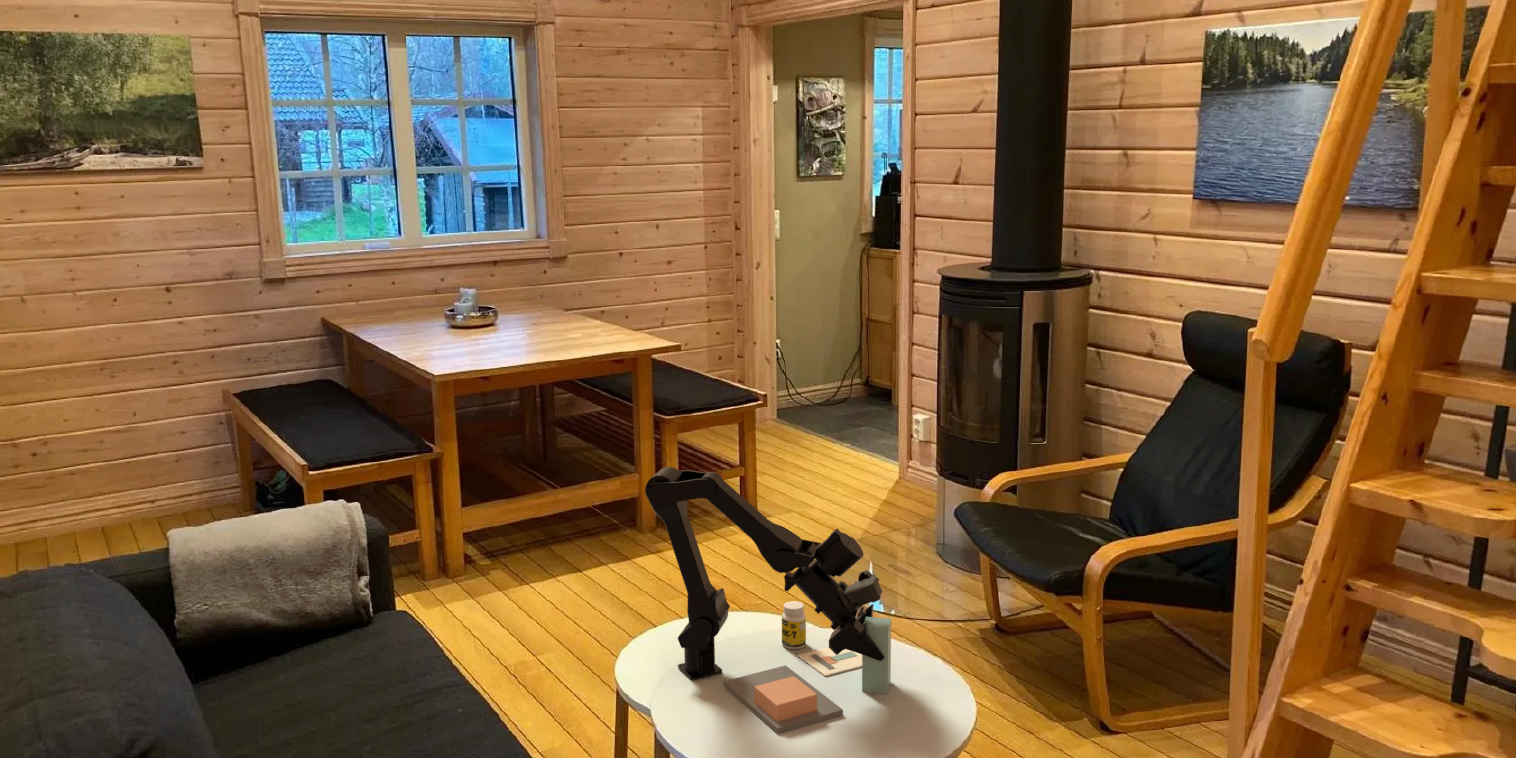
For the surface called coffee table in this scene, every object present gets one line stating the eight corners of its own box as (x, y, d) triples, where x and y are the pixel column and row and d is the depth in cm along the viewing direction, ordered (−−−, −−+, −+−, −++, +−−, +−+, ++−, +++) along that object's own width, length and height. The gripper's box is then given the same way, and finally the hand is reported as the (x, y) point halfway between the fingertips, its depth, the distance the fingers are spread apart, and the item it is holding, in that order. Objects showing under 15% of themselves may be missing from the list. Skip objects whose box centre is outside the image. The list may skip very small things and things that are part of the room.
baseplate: (723, 686, 210) (723, 665, 209) (785, 670, 216) (785, 650, 215) (777, 733, 192) (777, 711, 192) (842, 714, 198) (842, 693, 198)
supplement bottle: (777, 646, 226) (776, 606, 225) (790, 637, 230) (789, 598, 228) (797, 652, 224) (797, 611, 222) (810, 643, 227) (810, 603, 226)
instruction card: (797, 656, 222) (797, 654, 221) (858, 641, 228) (858, 639, 228) (825, 676, 213) (825, 674, 213) (887, 660, 219) (887, 658, 219)
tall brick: (862, 691, 207) (862, 626, 205) (865, 679, 211) (865, 616, 209) (887, 693, 206) (888, 628, 204) (890, 682, 210) (891, 618, 208)
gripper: (847, 582, 196) (911, 648, 196) (862, 546, 214) (921, 606, 214) (802, 622, 199) (865, 686, 199) (820, 583, 217) (878, 642, 217)
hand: (884, 653), depth 207 cm, fingers closed on tall brick, 5 cm apart
